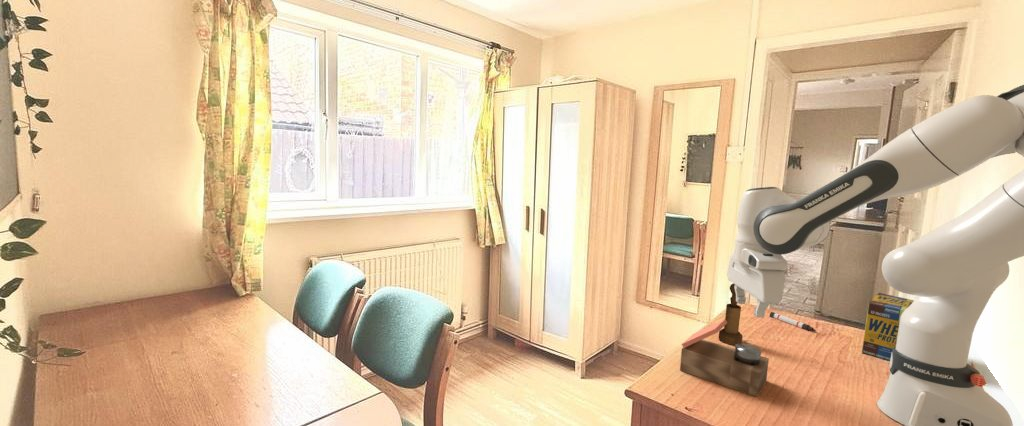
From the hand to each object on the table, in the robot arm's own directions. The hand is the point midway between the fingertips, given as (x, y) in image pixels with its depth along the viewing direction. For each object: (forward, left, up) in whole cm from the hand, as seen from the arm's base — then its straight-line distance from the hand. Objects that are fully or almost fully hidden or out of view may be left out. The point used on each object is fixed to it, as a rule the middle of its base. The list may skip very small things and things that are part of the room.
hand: (749, 309), depth 105 cm
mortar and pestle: (+9, -25, -19) cm, 33 cm away
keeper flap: (+9, 0, -9) cm, 13 cm away
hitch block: (+5, 0, -19) cm, 19 cm away
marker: (-3, -55, -19) cm, 59 cm away
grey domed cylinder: (0, 0, -18) cm, 18 cm away
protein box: (-28, -50, -19) cm, 60 cm away
